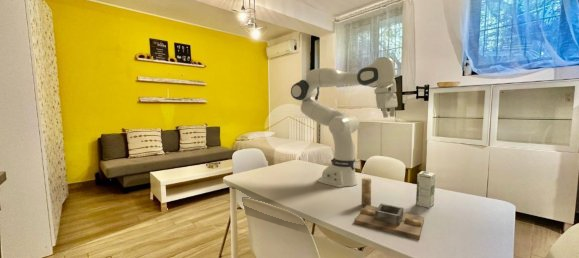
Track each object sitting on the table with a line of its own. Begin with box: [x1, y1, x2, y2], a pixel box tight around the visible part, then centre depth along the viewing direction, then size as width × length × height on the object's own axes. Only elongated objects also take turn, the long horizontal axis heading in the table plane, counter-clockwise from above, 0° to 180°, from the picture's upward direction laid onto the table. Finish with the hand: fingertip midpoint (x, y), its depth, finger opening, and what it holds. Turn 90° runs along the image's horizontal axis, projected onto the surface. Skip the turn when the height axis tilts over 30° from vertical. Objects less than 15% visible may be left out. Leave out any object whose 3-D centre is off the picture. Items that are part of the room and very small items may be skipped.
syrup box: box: [415, 170, 436, 209], centre depth 108 cm, size 6×6×14 cm
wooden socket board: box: [353, 203, 425, 241], centre depth 94 cm, size 22×16×5 cm
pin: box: [361, 177, 372, 207], centre depth 109 cm, size 4×4×12 cm
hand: (389, 117), depth 124 cm, fingers open, 8 cm apart
